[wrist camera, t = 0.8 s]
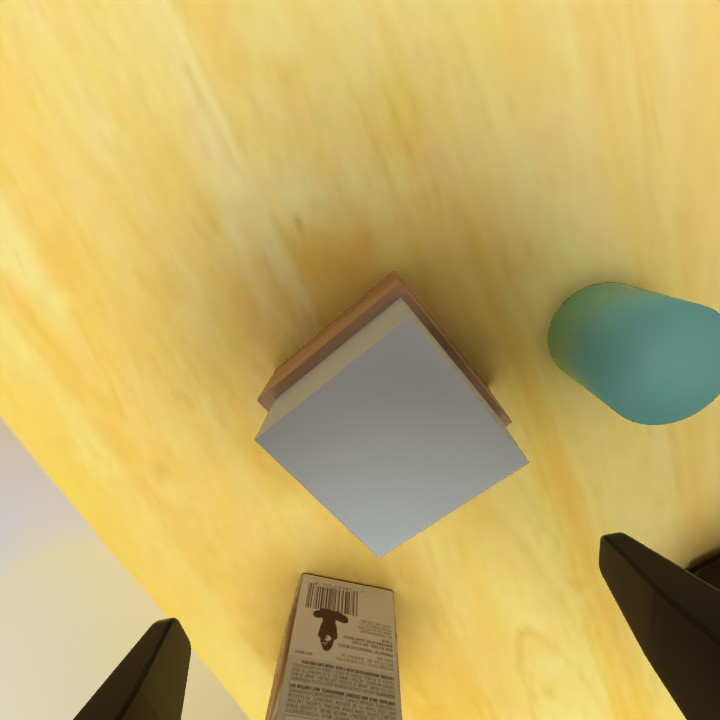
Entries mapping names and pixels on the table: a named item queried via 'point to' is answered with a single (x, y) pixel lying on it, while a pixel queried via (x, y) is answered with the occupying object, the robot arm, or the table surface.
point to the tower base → (356, 321)
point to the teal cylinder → (639, 351)
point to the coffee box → (337, 655)
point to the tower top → (389, 432)
